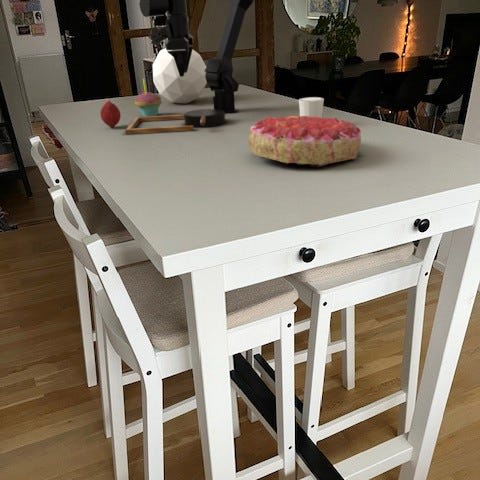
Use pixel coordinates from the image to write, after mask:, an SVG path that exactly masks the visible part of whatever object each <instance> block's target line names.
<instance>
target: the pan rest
mask: <svg viewBox="0 0 480 480" xmlns="http://www.w3.org/2000/svg"><path fill="white" fill-rule="evenodd" d="M175 120H178V121H179V120H185V118H184V114H169V115H168V114H167V115H157V116H148V117H143V116H136V117H134V119H133V120H132V121H131V122H130V123H129V125H128V126H127V127H126V128H125V135H136V134H157V133H174V132H175V133H176V132H192V131H194V129H195V128H194V127H193V125H191V126H186V125H177V126H175V125H174V126H157V127H141V128H139V127H138V128H136V127H137V126H138V124H139V123H140V122H142V123H143V122H159V121H175Z"/></svg>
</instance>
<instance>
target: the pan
mask: <svg viewBox="0 0 480 480" xmlns="http://www.w3.org/2000/svg"><path fill="white" fill-rule="evenodd" d="M225 114H226V113H225V112H224V111H223V110H219V109H214V108H206V109H205V108H201V109H196V110H195V109H194V110H189V111H185V112H184V114H183V115H184V118H185V119H184V126H191V125H193V128H212V127H213V128H214V127H217V126H221V125H224V124H226V115H225Z"/></svg>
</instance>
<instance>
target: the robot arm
mask: <svg viewBox="0 0 480 480" xmlns="http://www.w3.org/2000/svg"><path fill="white" fill-rule="evenodd" d="M254 2H255V0H229V4H230V7H229V11H228V14H227V17H226V21H225V24H224V28H223V32H222V35H221V39H220V42H219V45H218V49H217V53H216V55H215V56H214V57H209V58H208V59H207V63H206V69H205V70H204V71H205V72H206V74H205V79H206V84H208V86H209V89H210V91H211V92H214V95H213V97H212V102H213V103H212V104H213V109H219V110H223V111H224V112H225V114H226V113H227V114H228V113H229V114H230V113H236V104H235V103H236V101H235V93H236V92H238V90H239V87H240V83H238V82H237V81H236V79H235V78H234V77H233V72H234V68H233V61H232V60H233V57H234V53H235V49H236V46H237V43H238V40H239V36H240V33H241V29H242V27H243V26H242V25H243V23H244V19H245V16H246V13H247V11H248V10H249V8H250V7H251V6H252V5H253V3H254ZM138 6H139V10H140V12H141V15H142V16H143V17H145V18H149V17H151V18H152V17H163V16H165V15H167V19H166V20H165V25H164V26H163V27H161V28H160V27H158V26H154V27H152V28H150V29H151V30H150V33H149V38H150V40H151V41H152V44H153V46H156V45H159V44H161V42H163V41H165V40H166V41H165V48H166V50H172V51H167V52H168V53H169V54H170V55H172V56H173V57H174V60H175V63H176V66H177V69H178V72H179V75H180V77H181V76H184V73H186V72H187V70H188V66H189V62H190V58H191V54H192V50H194V45H195V41H194V36H192V34H190V30H189V17H188V9H187V8H188V7H187V0H139V5H138Z"/></svg>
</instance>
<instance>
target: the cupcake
mask: <svg viewBox="0 0 480 480" xmlns="http://www.w3.org/2000/svg"><path fill="white" fill-rule="evenodd" d="M142 82H143V89H144V92H142V93H140V94H138V95H137V96H136V97H135V99H134V105H135V106H137V107H138V109H139V111H140V113H141V115H142V117H148V116H158V115H159V108H160V105H161V104H162V98H161V97H160V96H161V95H160V96H159V94H157V93H153V92H148V90H147V85H146V79H145V78H144V76H142Z"/></svg>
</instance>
